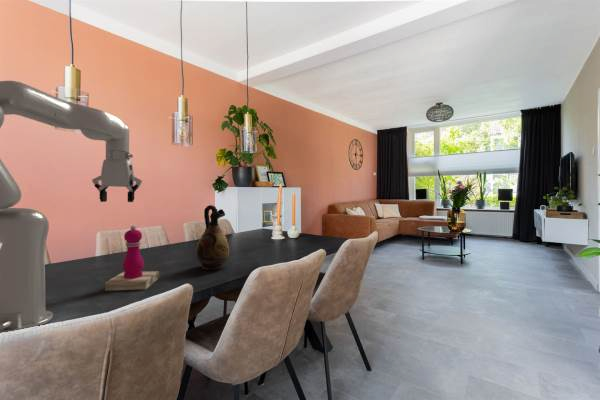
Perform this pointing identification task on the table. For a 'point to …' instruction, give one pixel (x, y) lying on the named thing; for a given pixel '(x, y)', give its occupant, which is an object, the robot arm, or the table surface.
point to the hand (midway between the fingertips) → (117, 201)
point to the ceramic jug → (212, 242)
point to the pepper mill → (133, 254)
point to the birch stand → (132, 281)
